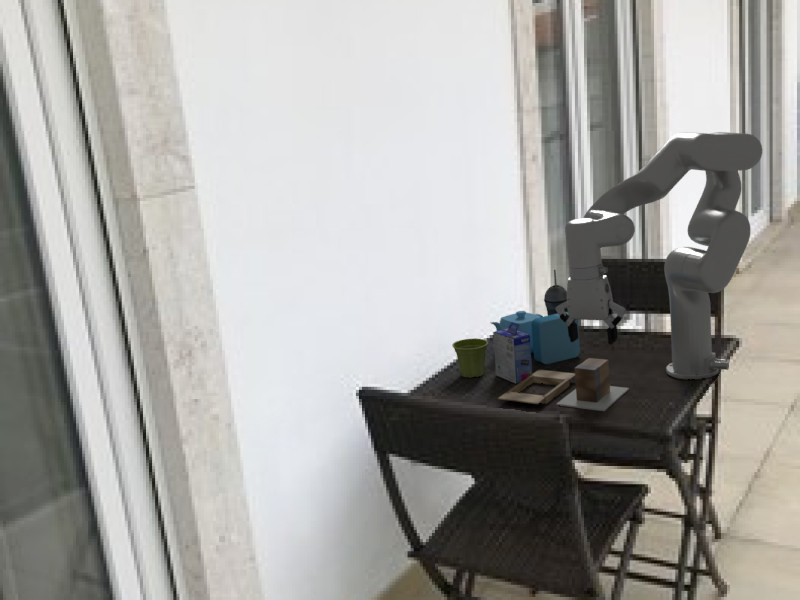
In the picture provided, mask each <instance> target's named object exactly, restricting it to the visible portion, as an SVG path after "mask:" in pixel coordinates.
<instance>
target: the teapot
mask: <svg viewBox="0 0 800 600" xmlns="http://www.w3.org/2000/svg"><path fill="white" fill-rule="evenodd" d="M540 317H544V316H543V315H542V314H539V313H535V314H534V313H531V312H526V311H525V310H518V311H516V312H515V313H512V314H508V315H505V316H501V318H500V320H499V322H498V321H491V322H490V324H491V325H493V326H495V330H496V331H499V330H503V329H508V328H509V326H510V324H511V322H514V323H517V324H519V327H518V330H517V331H519V332H522V333H526V334H529V335H530V347H531V354H534V352H533V339H532V326H531V324H532V321H533V320H534V319H536V318H540ZM511 328H513V329H516V327H515V326H514V325H513V326H511Z"/></svg>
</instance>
